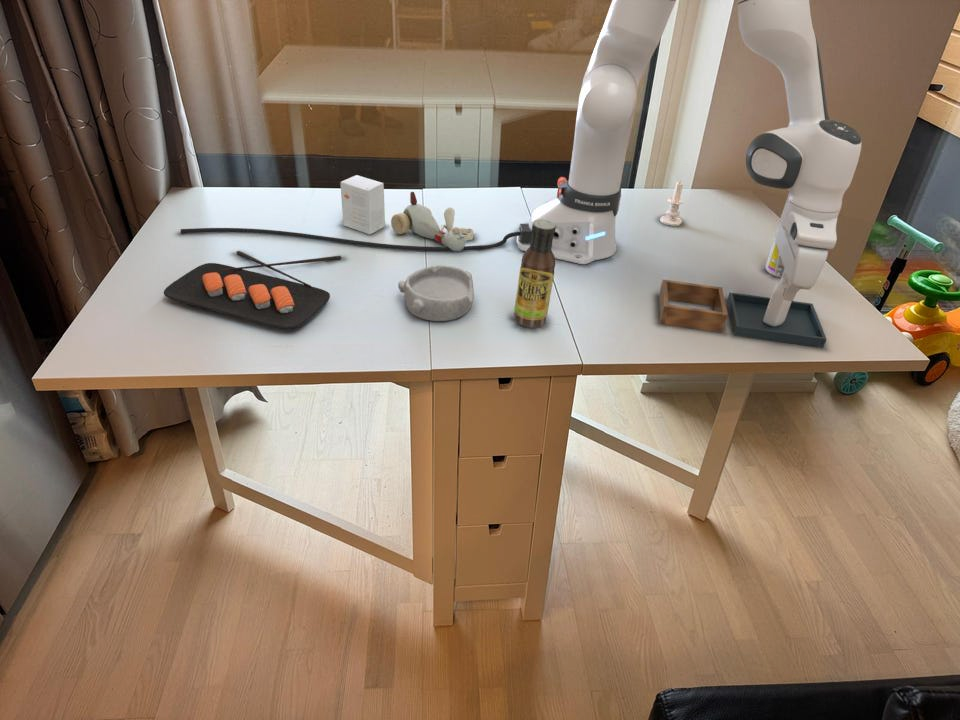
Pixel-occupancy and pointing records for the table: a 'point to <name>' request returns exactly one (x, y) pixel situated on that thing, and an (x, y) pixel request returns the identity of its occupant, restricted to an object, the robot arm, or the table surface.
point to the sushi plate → (251, 293)
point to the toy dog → (430, 225)
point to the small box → (363, 204)
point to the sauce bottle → (536, 276)
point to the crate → (692, 315)
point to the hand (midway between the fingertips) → (783, 286)
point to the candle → (673, 208)
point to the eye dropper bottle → (777, 304)
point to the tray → (794, 329)
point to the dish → (438, 292)
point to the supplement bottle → (772, 259)
